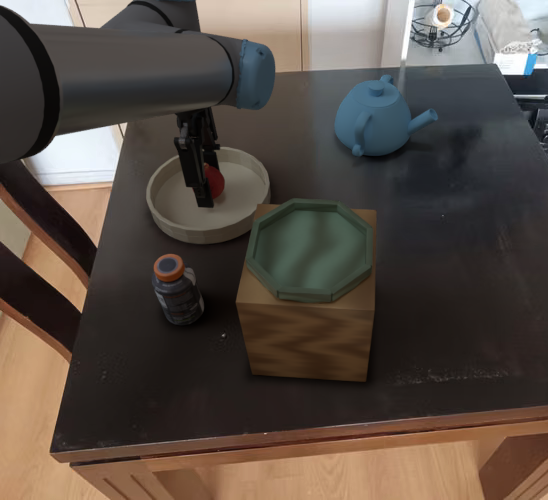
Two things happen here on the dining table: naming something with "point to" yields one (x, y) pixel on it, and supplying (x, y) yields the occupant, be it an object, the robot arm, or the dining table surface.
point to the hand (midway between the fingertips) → (210, 192)
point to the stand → (309, 290)
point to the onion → (214, 180)
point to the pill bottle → (177, 290)
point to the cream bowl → (227, 207)
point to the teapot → (377, 118)
